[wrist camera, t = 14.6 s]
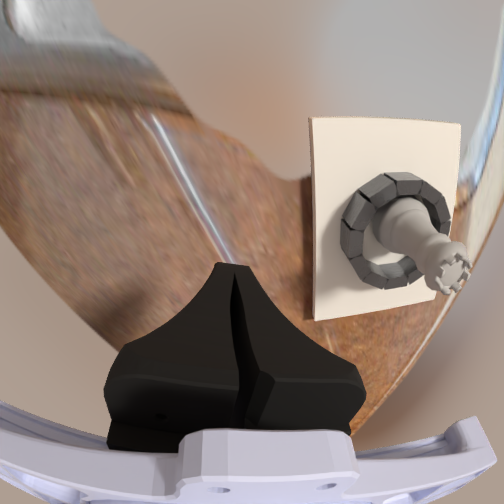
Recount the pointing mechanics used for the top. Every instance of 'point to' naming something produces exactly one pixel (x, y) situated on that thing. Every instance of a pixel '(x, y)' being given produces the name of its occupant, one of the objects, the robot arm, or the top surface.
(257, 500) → the robot arm
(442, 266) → the rook chess piece
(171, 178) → the top surface
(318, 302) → the mount plate
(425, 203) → the segmented grey ring
